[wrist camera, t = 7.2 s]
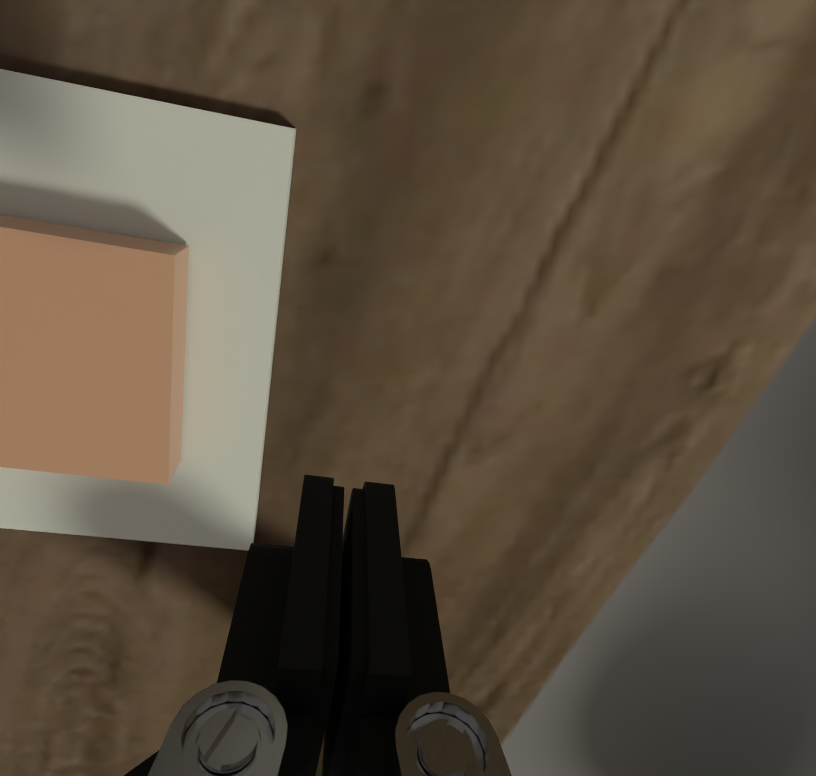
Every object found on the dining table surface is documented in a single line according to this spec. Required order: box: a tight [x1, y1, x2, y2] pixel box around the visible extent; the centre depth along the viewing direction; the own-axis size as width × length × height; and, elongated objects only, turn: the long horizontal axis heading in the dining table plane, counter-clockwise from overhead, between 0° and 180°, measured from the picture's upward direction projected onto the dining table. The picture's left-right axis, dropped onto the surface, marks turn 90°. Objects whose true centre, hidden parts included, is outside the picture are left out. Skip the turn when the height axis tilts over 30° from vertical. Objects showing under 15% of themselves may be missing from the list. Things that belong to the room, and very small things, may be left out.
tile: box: [0, 214, 189, 485], centre depth 18 cm, size 8×2×8 cm
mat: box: [0, 69, 296, 550], centre depth 20 cm, size 16×12×1 cm
